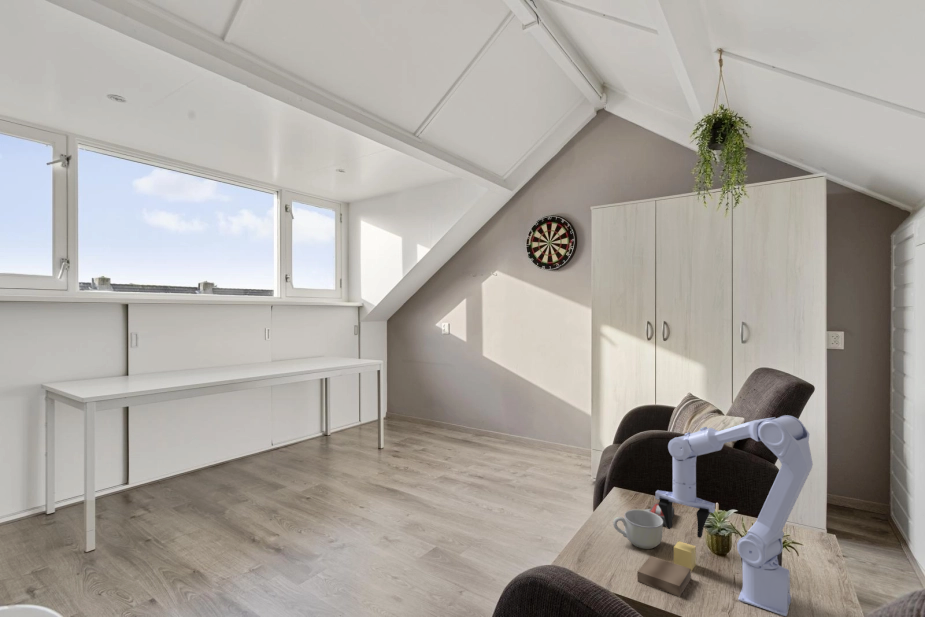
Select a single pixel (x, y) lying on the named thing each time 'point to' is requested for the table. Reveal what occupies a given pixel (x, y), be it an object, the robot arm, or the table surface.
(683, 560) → the mustard block
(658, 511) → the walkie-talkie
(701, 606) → the table surface
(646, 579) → the walnut plinth
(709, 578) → the table surface
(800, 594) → the table surface
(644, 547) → the teacup
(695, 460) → the robot arm
